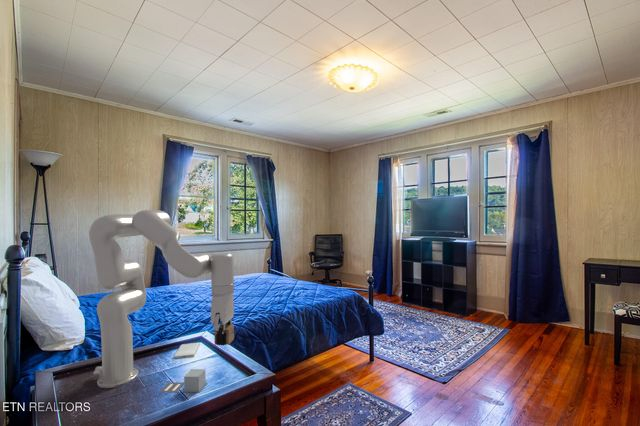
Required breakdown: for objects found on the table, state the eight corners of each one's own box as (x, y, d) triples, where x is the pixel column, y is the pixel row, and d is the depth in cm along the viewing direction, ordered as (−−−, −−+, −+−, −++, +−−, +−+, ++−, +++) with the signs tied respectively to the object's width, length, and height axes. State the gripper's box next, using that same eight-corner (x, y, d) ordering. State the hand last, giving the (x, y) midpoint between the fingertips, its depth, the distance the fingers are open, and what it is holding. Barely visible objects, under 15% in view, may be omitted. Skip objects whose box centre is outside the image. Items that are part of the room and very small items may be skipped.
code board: (152, 397, 102) (152, 395, 102) (169, 381, 112) (169, 379, 112) (200, 398, 101) (200, 396, 101) (213, 381, 111) (213, 379, 111)
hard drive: (180, 344, 142) (173, 356, 130) (200, 342, 144) (194, 354, 131) (181, 348, 142) (173, 360, 130) (200, 345, 144) (194, 358, 131)
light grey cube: (184, 391, 104) (184, 376, 104) (191, 383, 109) (191, 369, 109) (199, 391, 103) (198, 376, 103) (205, 383, 108) (205, 369, 108)
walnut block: (214, 344, 107) (214, 329, 107) (220, 338, 112) (220, 324, 112) (229, 344, 107) (228, 329, 107) (234, 338, 112) (233, 324, 112)
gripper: (222, 283, 118) (223, 332, 118) (201, 295, 101) (203, 352, 101) (241, 283, 118) (243, 332, 118) (224, 295, 101) (225, 352, 101)
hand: (224, 340), depth 109 cm, fingers closed on walnut block, 5 cm apart
